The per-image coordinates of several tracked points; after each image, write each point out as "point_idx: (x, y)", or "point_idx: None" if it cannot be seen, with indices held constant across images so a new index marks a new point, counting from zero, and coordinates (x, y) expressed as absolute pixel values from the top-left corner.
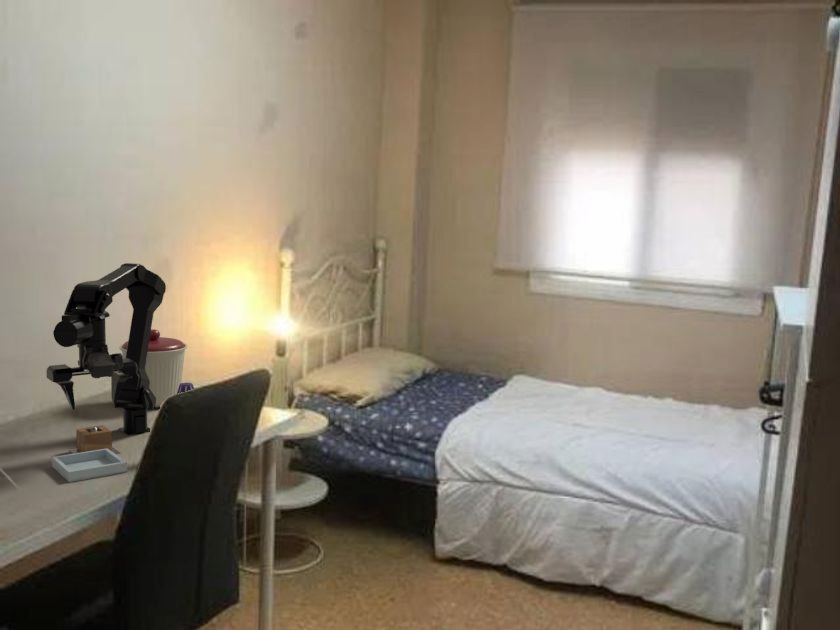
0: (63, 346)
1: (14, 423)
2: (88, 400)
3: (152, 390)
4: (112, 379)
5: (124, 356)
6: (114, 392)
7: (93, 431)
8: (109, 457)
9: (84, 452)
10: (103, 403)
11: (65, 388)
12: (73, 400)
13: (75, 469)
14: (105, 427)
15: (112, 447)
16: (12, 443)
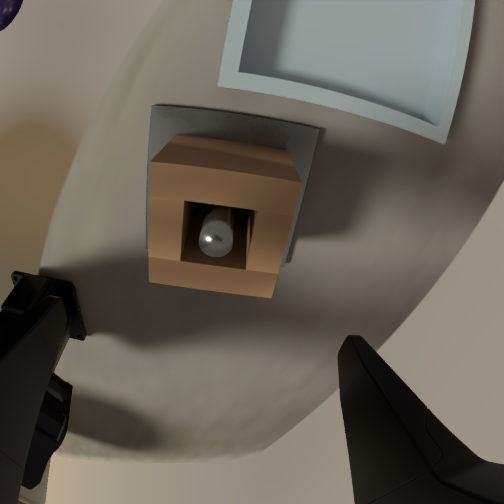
0: None
1: (259, 444)
2: (114, 453)
3: None
4: (10, 475)
5: (40, 496)
6: (15, 368)
7: (226, 223)
8: (248, 20)
9: (333, 98)
10: (95, 439)
11: (488, 462)
12: (384, 385)
13: (400, 33)
14: (151, 242)
15: (148, 194)
16: None
